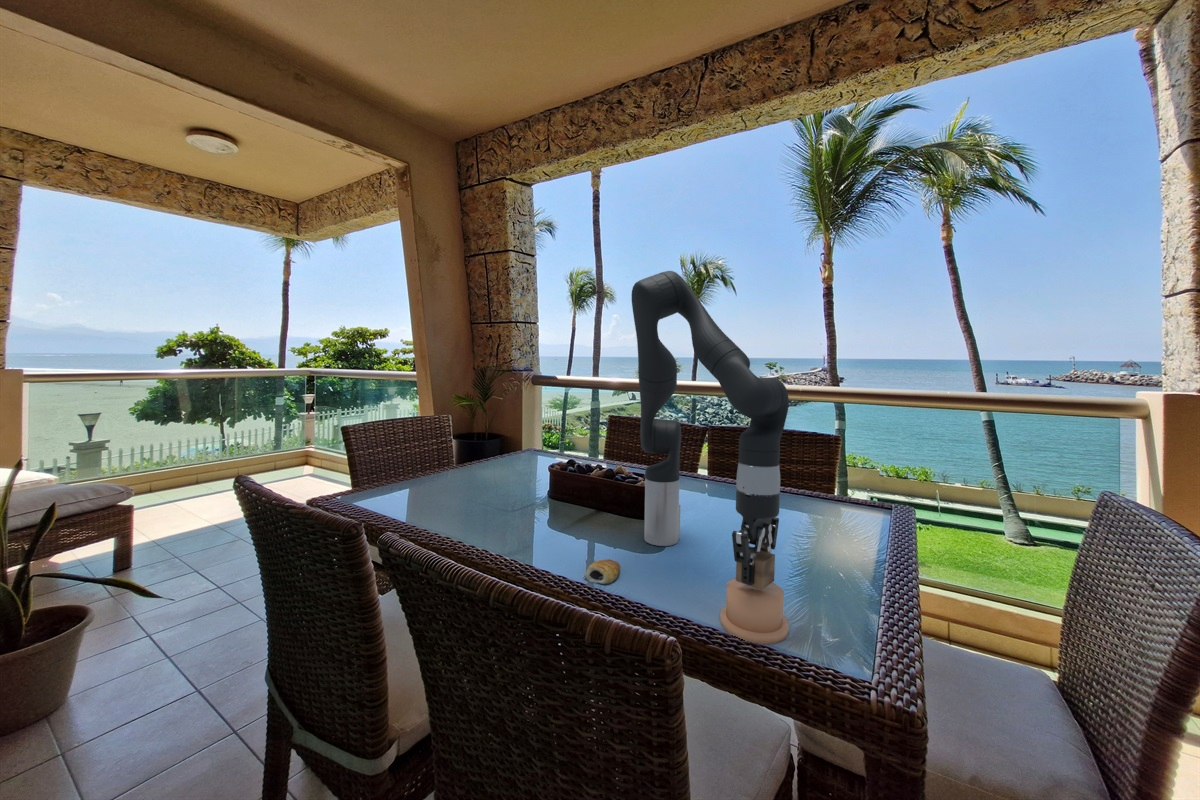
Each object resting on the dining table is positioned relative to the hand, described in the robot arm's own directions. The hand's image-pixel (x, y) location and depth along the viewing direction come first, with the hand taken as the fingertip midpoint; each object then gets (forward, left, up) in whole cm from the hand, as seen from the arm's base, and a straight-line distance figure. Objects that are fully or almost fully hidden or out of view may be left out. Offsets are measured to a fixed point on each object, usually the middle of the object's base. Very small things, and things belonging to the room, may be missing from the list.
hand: (754, 578), depth 87 cm
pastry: (+5, -34, -9) cm, 35 cm away
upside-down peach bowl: (0, 0, -9) cm, 9 cm away
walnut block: (0, 0, 0) cm, 0 cm away
